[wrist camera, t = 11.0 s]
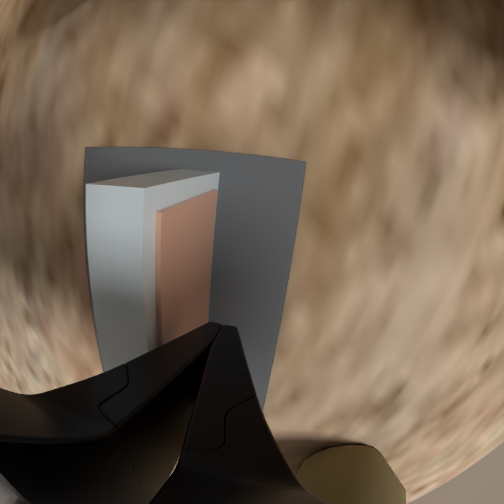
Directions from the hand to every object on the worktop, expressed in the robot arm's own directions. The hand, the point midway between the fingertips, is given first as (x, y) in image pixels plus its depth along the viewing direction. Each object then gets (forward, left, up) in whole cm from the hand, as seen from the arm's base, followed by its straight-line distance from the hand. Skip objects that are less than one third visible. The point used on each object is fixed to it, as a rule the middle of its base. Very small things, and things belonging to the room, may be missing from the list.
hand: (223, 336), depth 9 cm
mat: (+3, +2, -5) cm, 6 cm away
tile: (+2, 0, -4) cm, 5 cm away
